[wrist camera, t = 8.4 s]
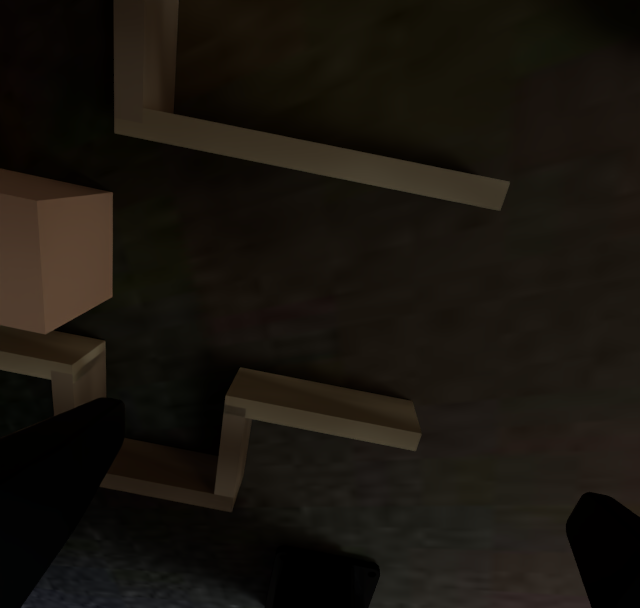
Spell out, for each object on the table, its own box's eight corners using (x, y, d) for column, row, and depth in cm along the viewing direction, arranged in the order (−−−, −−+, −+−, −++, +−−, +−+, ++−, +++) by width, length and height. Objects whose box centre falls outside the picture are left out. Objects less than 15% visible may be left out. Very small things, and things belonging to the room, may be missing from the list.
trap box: (379, 501, 22) (384, 551, 19) (-13, 424, 22) (-67, 463, 19) (542, 4, 13) (595, -39, 10) (-100, -128, 13) (-221, -208, 10)
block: (113, 295, 18) (45, 334, 14) (-8, 270, 18) (-112, 301, 14) (114, 192, 17) (37, 201, 12) (-20, 163, 17) (-143, 162, 12)
